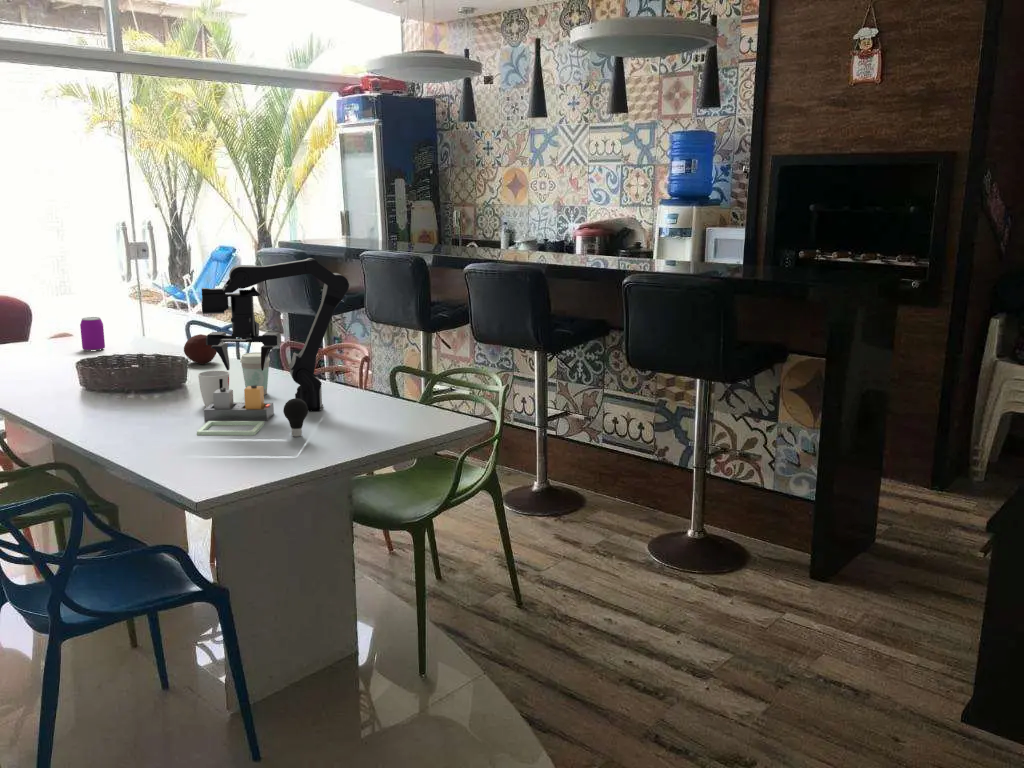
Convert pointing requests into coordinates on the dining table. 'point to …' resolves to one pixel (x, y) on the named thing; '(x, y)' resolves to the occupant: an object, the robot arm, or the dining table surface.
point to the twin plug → (223, 399)
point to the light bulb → (296, 415)
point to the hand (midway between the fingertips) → (245, 370)
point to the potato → (199, 350)
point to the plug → (254, 397)
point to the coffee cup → (255, 370)
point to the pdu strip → (238, 413)
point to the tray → (204, 431)
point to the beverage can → (92, 333)
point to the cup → (212, 384)
